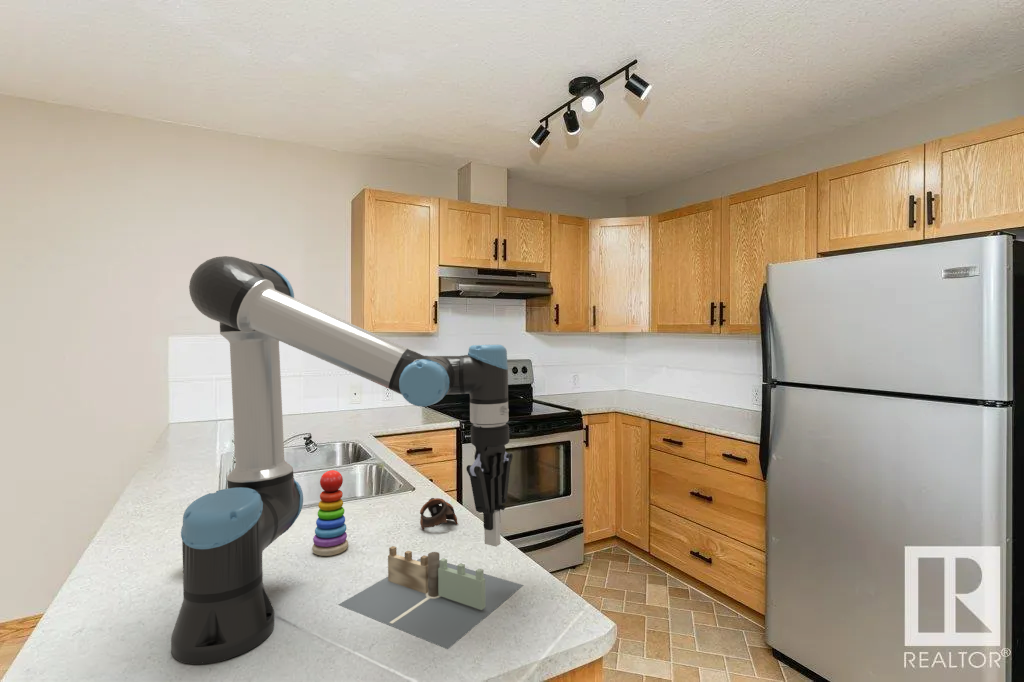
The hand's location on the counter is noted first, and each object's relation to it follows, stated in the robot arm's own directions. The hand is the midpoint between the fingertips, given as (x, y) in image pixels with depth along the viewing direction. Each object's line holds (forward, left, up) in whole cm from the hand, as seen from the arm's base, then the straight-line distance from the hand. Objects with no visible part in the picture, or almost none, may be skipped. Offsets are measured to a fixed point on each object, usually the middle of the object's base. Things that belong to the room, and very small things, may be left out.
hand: (492, 543), depth 100 cm
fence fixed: (-7, +14, -9) cm, 18 cm away
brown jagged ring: (+22, +32, -10) cm, 40 cm away
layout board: (-7, +9, -10) cm, 15 cm away
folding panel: (-7, +2, -9) cm, 12 cm away
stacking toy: (-3, +44, -10) cm, 45 cm away
